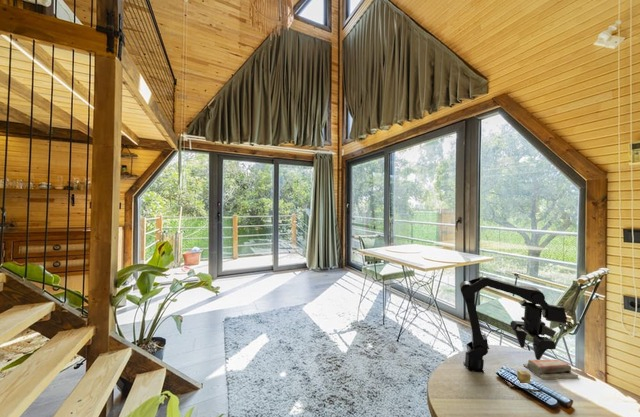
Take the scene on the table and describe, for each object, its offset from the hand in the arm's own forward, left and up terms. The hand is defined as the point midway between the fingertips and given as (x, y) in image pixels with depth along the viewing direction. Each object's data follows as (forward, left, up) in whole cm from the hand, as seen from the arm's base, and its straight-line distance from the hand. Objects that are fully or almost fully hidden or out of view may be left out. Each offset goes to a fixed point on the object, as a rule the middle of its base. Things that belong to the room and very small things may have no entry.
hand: (529, 353), depth 113 cm
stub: (-4, -4, -12) cm, 14 cm away
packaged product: (+16, +10, -13) cm, 23 cm away
